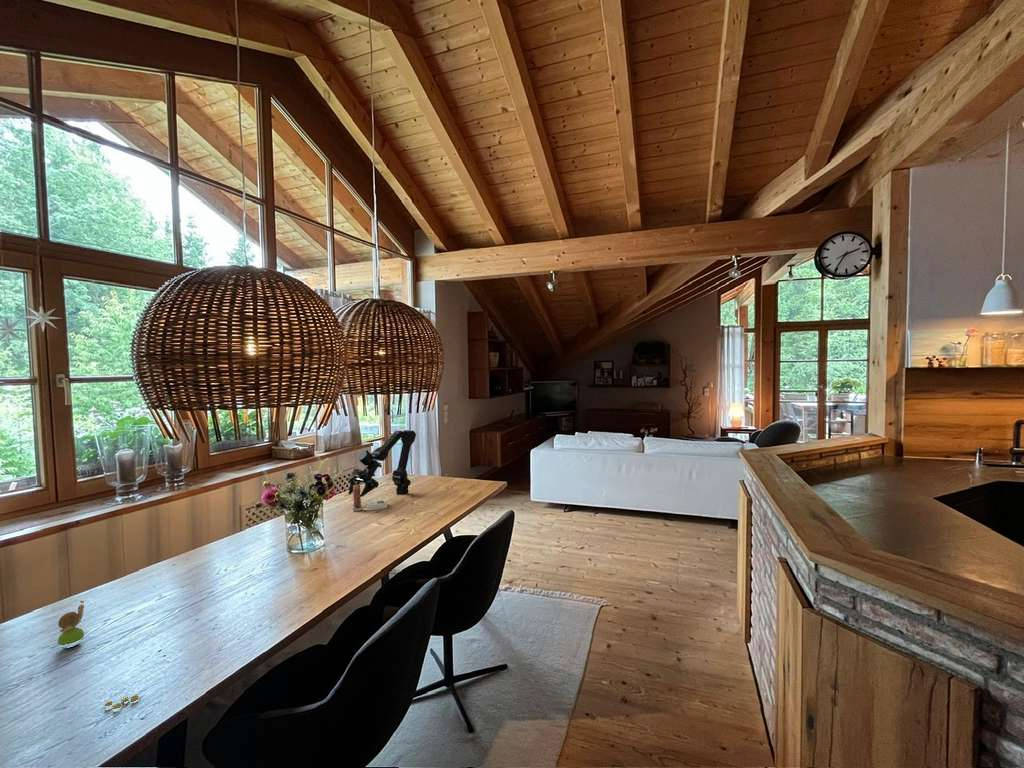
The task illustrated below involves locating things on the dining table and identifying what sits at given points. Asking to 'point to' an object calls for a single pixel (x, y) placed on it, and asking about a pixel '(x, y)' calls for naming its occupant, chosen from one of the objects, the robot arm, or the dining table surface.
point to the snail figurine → (71, 627)
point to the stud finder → (376, 505)
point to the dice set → (123, 701)
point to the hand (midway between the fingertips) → (354, 495)
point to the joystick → (357, 498)
